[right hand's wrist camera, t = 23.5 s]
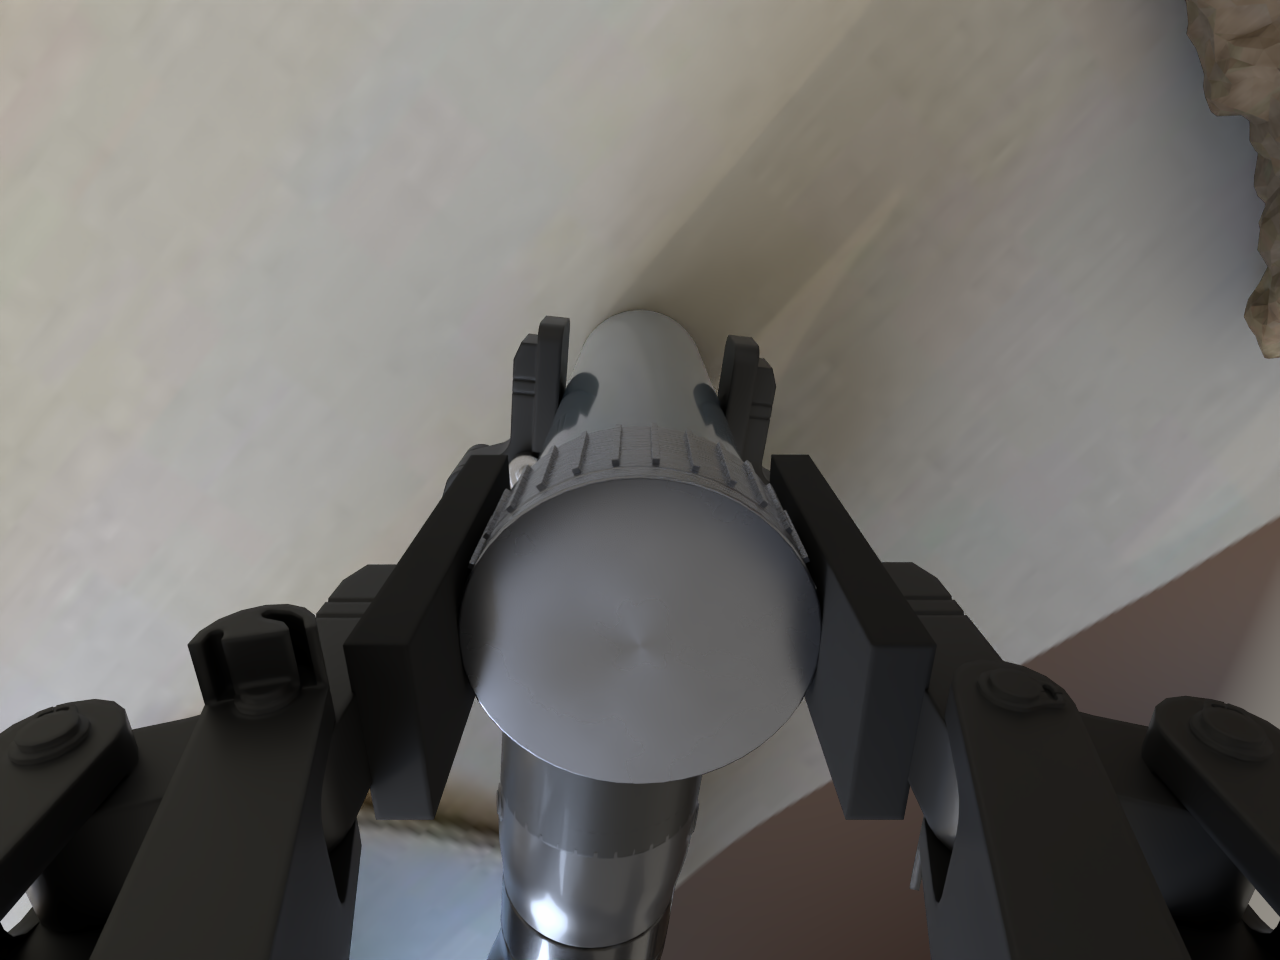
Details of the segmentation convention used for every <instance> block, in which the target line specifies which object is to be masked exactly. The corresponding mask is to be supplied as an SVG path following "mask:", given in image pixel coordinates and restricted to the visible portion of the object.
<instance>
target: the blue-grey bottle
mask: <svg viewBox="0 0 1280 960" xmlns="http://www.w3.org/2000/svg"><path fill="white" fill-rule="evenodd" d="M651 423H656V424H657V426H658V427H664V428H669V429H675V430H680V431H684V432H685V430H686V429H688V430H692V433H693V435H696V436H699V437H702V438H705V439H707V440H709V441H711V442H713V443H715V444H717V443H718V442H721V443H723V444H724V446H725V449H726V450H727V451H729V452H730V453H732V454H734V455H735V456H737V457H738V458H739V459H741V460H742V461H743V459H742V457H741V454H740V452H739V449H738V447H737V444H736V442H735V439H734V437H733V434H732V432H731V429H730V427H729V425H728V422H727V420H726V417H725V415H724V412H723V410H722V407H721V405H720V402H719V400H718V397H717V395H716V392H715V390H714V388H713V385H712V383H711V380H710V378H709V375H708V373H707V370H706V368H705V365H704V363H703V360H702V358H701V355H700V353H699V351H698V348H697V346H696V344H695V342H694V340H693V339H692V337H691V336H690V334H689V333H688V332H687V331H686V330H685V329H684V327H682V326H681V325H680V324H679V323H678V322H676V321H675V320H673V319H672V318H670V317H668V316H666V315H664V314H661V313H658V312H655V311H649V310H631V311H626V312H622V313H619V314H616V315H614V316H612V317H610V318H608V319H606V320H605V321H603V322H602V323H601V324H599V325H598V326H597V327H596V328H595V329H594V330H593V331H592V333H591V334H590V335H589V337H588V338H587V340H586V342H585V343H584V345H583V348H582V350H581V353H580V355H579V358H578V360H577V362H576V365H575V367H574V370H573V372H572V375H571V377H570V380H569V382H568V385H567V387H566V390H565V392H564V395H563V397H562V400H561V402H560V405H559V407H558V409H557V412H556V414H555V417H554V419H553V422H552V424H551V427H550V429H549V432H548V434H547V437H546V439H545V442H544V444H543V447H542V449H541V452H540V454H539V457H538V459H537V461H538V460H539V459H541V458H542V457H543V456H545V455H546V454H548V451H549V449H550V447H552V446H554V445H556V447H559V446H561V445H563V444H565V443H567V442H569V441H571V440H573V439H575V438H578V437H580V435H581V433H582V432H585V431H587V432H588V434H590V433H593V432H596V431H600V430H605V429H611V428H615V425H616V424H622V427H626V426H651ZM537 461H536V462H537Z"/></svg>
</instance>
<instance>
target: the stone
mask: <svg viewBox="0 0 1280 960" xmlns="http://www.w3.org/2000/svg"><path fill="white" fill-rule="evenodd" d="M1185 1H1186V4H1187V14H1188V28H1187V35H1188V37H1189V38H1190V40H1191V42H1192V43H1193V45H1194V46H1195V48H1196V49H1197V52H1198V56H1199V59H1200V62H1201V65H1202V68H1203V72H1204V84H1203V88H1204V93H1205V98H1206V100H1207V103H1208V105H1209V108H1210V110H1211V112H1212V113H1213V114H1215V115H1216V116H1234V115H1242V116H1243V117H1245V118H1246V119H1247V120H1249V121H1250V142H1251V144H1252V146H1253V147H1254V149H1255V151H1256V152H1258V158H1257V164H1256V170H1255V176H1254V187H1255V190H1256V192H1257V195H1258V197H1259V198H1260V199H1262V200H1263V201H1264V202H1265V208H1264V211H1263V213H1262V216H1261V218H1260V221H1259V226H1260V235H1259V242H1258V249H1257V250H1258V251H1259V253H1260V254H1261V256H1262V258H1263V259H1264V261H1265V263H1266V264H1267V266H1268V267H1267V269H1266V271H1265V273H1264V275H1263V277H1262V279H1261V281H1260V283H1259V284H1258V286H1257V287H1256V289H1255V290H1254V292H1253V293H1252V295H1251V296H1250V297H1249V299H1248V302H1247V306H1246V309H1245V314H1244V318H1245V320H1246V322H1247V324H1248V326H1249V328H1250V329H1251V330H1252V332H1253V333H1254V335H1255V336H1256V338H1257V341H1258V344H1259V347H1260V349H1261V351H1262V353H1263V355H1264V357H1265V358H1268V359H1270V358H1279V357H1280V0H1185Z"/></svg>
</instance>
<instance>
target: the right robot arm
mask: <svg viewBox="0 0 1280 960" xmlns="http://www.w3.org/2000/svg"><path fill="white" fill-rule="evenodd" d="M769 483H770V484H771V485H772V487H773V488H774V491H775V493H776V495H777V497H778V499H779V501H780V503H781V505H782V507H783V510H786V511H787V513H788V515H789V517H790V519H791V521H792V523H793V525H794V527H795V530H796V532H797V534H798V536H799V538H800V540H801V542H802V544H803V546H804V548H805V550H806V552H807V554H808V557H809V559H810V562H808V563H805V564H806V566H807V568H808V570H809V573H810V575H811V577H812V579H813V581H814V584H815V586H816V588H817V589H816V591H817V595H818V598H819V602H820V607H821V616H822V633H821V642H820V651H819V659H818V665H817V668H816V670H815V673H814V676H813V679H812V682H811V684H810V686H809V688H808V690H807V692H806V694H805V699H806V702H807V705H808V708H809V711H810V714H811V717H812V720H813V723H814V726H815V729H816V732H817V735H818V738H819V741H820V744H821V747H822V750H823V753H824V756H825V759H826V762H827V765H828V768H829V771H830V774H831V777H832V780H833V783H834V786H835V789H836V792H837V795H838V798H839V801H840V804H841V807H842V810H843V813H844V816H845V819H846V820H903V819H904V815H905V809H906V804H907V799H908V794H909V788H910V786H911V788H912V790H913V792H914V795H915V797H916V799H917V801H918V803H919V805H920V807H921V810H922V812H923V814H924V817H923V822H922V827H921V832H920V837H919V842H918V847H917V852H916V856H915V861H914V866H913V871H912V877H911V883H910V889H914V890H919V888H920V883H921V879H922V880H923V889H924V898H925V907H926V916H927V926H928V935H929V944H930V953H931V960H1280V921H1279V923H1278V925H1277V927H1276V928H1275V929H1274V930H1273V929H1271V928H1270V927H1269V926H1268V925H1267V924H1266V923H1265V922H1263V921H1262V920H1261V919H1260V918H1259V916H1258V915H1257V914H1256V913H1255V912H1254V910H1253V909H1252V908H1251V907H1250V906H1249V904H1248V903H1249V901H1250V899H1251V897H1252V895H1253V892H1254V890H1255V889H1256V890H1257V891H1258V892H1259V893H1260V894H1261V895H1262V897H1263V898H1264V899H1265V900H1266V901H1267V902H1268V904H1269V905H1270V906H1271V907H1272V908H1273V909H1274V911H1275V912H1276V913H1277V914H1278V915H1279V916H1280V730H1279V729H1278V728H1277V727H1275V726H1274V725H1272V724H1271V723H1269V722H1268V721H1266V720H1264V719H1262V718H1259V717H1257V716H1255V715H1253V714H1251V713H1249V712H1247V711H1246V710H1244V709H1242V708H1240V707H1237V706H1234V705H1231V704H1225V703H1224V702H1221V701H1217V700H1212V699H1205V698H1198V697H1190V696H1181V697H1172V698H1166V699H1165V700H1163V701H1162V702H1161V703H1159V704H1158V705H1157V706H1156V707H1155V710H1154V713H1153V715H1152V718H1151V721H1150V724H1149V727H1147V726H1142V725H1138V724H1133V723H1128V722H1123V721H1118V720H1113V719H1108V718H1103V717H1098V716H1094V715H1090V714H1086V713H1082V712H1079V711H1078V709H1077V707H1076V705H1075V703H1074V702H1073V700H1072V699H1071V698H1070V697H1069V695H1068V694H1067V693H1066V691H1065V690H1064V689H1063V688H1061V687H1060V686H1059V685H1057V684H1056V683H1055V682H1053V681H1052V680H1050V679H1049V678H1048V677H1046V676H1044V675H1042V674H1040V673H1038V672H1035V671H1033V670H1031V669H1029V668H1027V667H1024V666H1021V665H1017V664H1013V663H1009V662H1005V661H1003V660H1002V659H1001V658H1000V656H999V655H998V654H997V653H996V651H995V650H994V649H993V648H992V646H991V645H990V644H989V643H988V641H987V640H986V639H985V637H984V636H983V635H982V634H981V632H980V631H979V630H978V629H977V627H976V626H975V625H974V624H973V622H972V621H971V620H970V619H969V617H968V616H967V615H964V611H963V610H962V609H961V607H960V606H959V605H958V604H957V602H956V601H955V600H952V596H951V595H950V594H949V592H948V591H947V590H946V589H945V587H944V586H943V585H942V584H941V582H940V581H939V580H938V579H937V578H936V577H935V576H933V575H932V574H930V573H928V572H927V571H925V570H924V569H922V568H920V567H919V566H917V565H916V564H914V563H912V562H881V561H880V560H879V558H878V557H877V555H876V554H875V552H874V551H873V550H872V548H871V547H870V545H869V544H868V542H867V541H866V539H865V538H864V536H863V535H862V533H861V532H860V530H859V529H858V527H857V526H856V524H855V523H854V521H853V520H852V518H851V517H850V515H849V514H848V513H847V511H846V510H845V508H844V507H843V505H842V504H841V502H840V501H839V499H838V498H837V496H836V495H835V493H834V492H833V490H832V489H831V487H830V486H829V484H828V483H827V481H826V480H825V478H824V477H823V475H822V474H821V473H820V471H819V470H818V468H817V467H816V465H815V464H814V462H813V461H812V459H811V458H810V456H809V455H771V469H770V482H769ZM505 489H508V490H511V488H510V474H509V461H508V455H471V456H470V457H469V459H468V460H467V462H466V463H465V464H464V466H463V467H462V469H461V470H460V472H459V473H458V475H457V476H456V478H455V479H454V481H453V482H452V484H451V485H450V487H449V488H448V490H447V491H446V493H445V494H444V496H443V497H442V499H441V500H440V501H439V503H438V504H437V506H436V507H435V509H434V510H433V512H432V513H431V515H430V516H429V518H428V519H427V521H426V522H425V524H424V525H423V527H422V528H421V530H420V531H419V533H418V534H417V536H416V537H415V538H414V540H413V541H412V543H411V544H410V546H409V547H408V549H407V550H406V552H405V553H404V555H403V556H402V558H401V559H400V561H399V562H398V564H397V565H366V566H365V567H363V568H362V569H360V570H358V571H357V572H355V573H354V574H352V575H350V576H349V577H347V578H346V579H344V580H343V581H342V582H341V583H340V585H339V586H338V587H337V588H336V590H335V591H334V592H333V593H332V595H331V596H330V597H329V598H328V602H325V604H324V605H323V606H322V607H321V609H320V610H319V611H318V612H317V614H316V618H315V615H314V614H313V613H311V612H310V611H309V610H307V609H306V608H304V607H299V606H295V605H290V604H277V605H263V606H259V607H254V608H250V609H245V610H241V611H239V612H236V613H234V614H231V615H228V616H226V617H223V618H221V619H218V620H217V621H215V622H214V623H212V624H210V625H209V626H207V627H206V628H204V629H202V630H201V631H199V632H198V634H197V635H196V636H195V637H194V638H193V639H192V640H191V641H190V642H189V644H188V648H189V651H190V655H191V658H192V662H193V665H194V669H195V672H196V675H197V679H198V682H199V686H200V689H201V693H202V696H203V700H204V703H205V706H204V708H203V710H202V713H201V715H197V716H194V717H190V718H186V719H181V720H176V721H172V722H167V723H162V724H157V725H152V726H147V727H143V728H138V729H133V730H132V729H131V726H130V723H129V720H128V717H127V714H126V711H125V709H124V708H122V707H121V706H120V705H118V704H117V703H116V702H114V701H107V700H99V699H91V700H84V701H76V702H69V703H65V704H61V705H57V706H56V707H50V708H47V709H44V710H42V711H39V712H37V713H35V714H34V715H32V716H30V717H28V718H26V719H24V720H22V721H20V722H18V723H15V724H13V725H12V726H10V727H9V728H7V729H6V730H5V731H3V732H2V733H0V921H1V920H2V919H3V918H4V917H5V915H6V914H7V913H8V912H9V911H10V910H11V908H12V907H13V906H14V905H15V904H16V903H17V901H18V900H19V899H20V898H21V897H22V896H23V894H24V893H25V892H26V894H27V896H28V898H29V900H30V902H31V904H32V908H31V909H30V910H29V912H28V913H27V914H26V915H25V916H24V918H23V919H22V920H21V921H20V922H19V923H18V924H17V925H16V926H15V927H13V928H12V929H11V930H10V931H9V932H6V931H5V930H4V929H3V927H2V925H1V923H0V960H349V955H350V946H351V937H352V928H353V918H354V909H355V900H356V891H357V882H358V873H359V864H360V855H361V846H362V845H361V839H360V832H359V827H358V822H357V814H358V812H359V810H360V808H361V806H362V804H363V801H364V799H365V797H366V795H367V793H368V791H369V789H370V791H371V796H372V801H373V806H374V812H375V817H376V820H434V818H435V815H436V812H437V809H438V806H439V803H440V800H441V797H442V794H443V791H444V788H445V785H446V782H447V779H448V776H449V773H450V770H451V767H452V764H453V761H454V758H455V755H456V752H457V749H458V746H459V743H460V740H461V737H462V734H463V731H464V728H465V725H466V722H467V719H468V716H469V713H470V710H471V707H472V704H473V701H474V698H475V694H474V692H473V690H472V688H471V686H470V684H469V682H468V679H467V676H466V674H465V671H464V668H463V665H462V661H461V654H460V646H459V637H458V615H459V607H460V601H461V598H462V594H463V591H464V587H465V584H466V581H467V579H468V577H469V575H470V573H471V569H468V568H467V566H468V564H469V561H470V559H471V557H472V555H473V553H474V551H475V549H476V547H477V545H478V543H479V540H480V538H481V536H482V534H483V532H484V530H485V528H486V526H487V524H488V522H489V520H490V518H491V516H492V515H493V513H494V511H495V509H496V507H497V505H498V503H499V500H500V498H501V496H502V494H503V492H504V491H505Z"/></svg>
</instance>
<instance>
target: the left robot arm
mask: <svg viewBox="0 0 1280 960" xmlns="http://www.w3.org/2000/svg"><path fill="white" fill-rule="evenodd" d="M569 332H570V319H569V318H563V317H553V316H546V317H545V318H544V319H543V320H542V321H541V323H540V326H539V332H538V335H536V334H528V335H527V337H526V338H525V339H524V340H523V341H522V342H521V344H520V347H519V349H518V351H517V353H516V355H515V357H514V364H513V390H512V391H513V394H512V415H511V438H510V439H509V440H508V441H506V442H503V443H500V444H495V445H491V446H489V445H485V444H478V445H474V446H472V447H471V448H470V449H469V450H468V451H467V452H466V454H465V455H464V457H463V458H462V459H461V461H460V462H459V464H458V465H457V467H456V468H455V469H454V471H453V472H452V474H451V475H450V477H449V478H448V480H447V482H446V486H445V489H444V493H443V496H444V494H445V493H446V491H447V490H448V488H449V487H450V485H451V484H452V482H453V481H454V479H455V478H456V476H457V475H458V473H459V472H460V470H461V469H462V467H463V466H464V464H465V463H466V462H467V460H468V459H469V457H470V456H471V455H508V461H509V474H510V488H511V489H512V487H513V486H514V484H515V483H516V482H517V481H518V480H519V477H520V475H521V473H522V471H523V468H524V467H525V466H526V465H529V466H530V467H531V466H532V465H534V464H535V463H536V461H537V459H538V457H539V454H540V452H541V449H542V447H543V444H544V442H545V439H546V437H547V434H548V432H549V429H550V427H551V424H552V422H553V419H554V417H555V414H556V412H557V409H558V407H559V405H560V402H561V400H562V397H563V395H564V392H565V390H566V376H567V362H568V347H569ZM775 390H776V383H775V379H774V374H773V369H772V368H771V366H770V365H769V364H768V363H767V361H766V360H765V359H764V358H759V346H758V344H757V343H756V342H755V341H754V340H753V338H751V337H743V336H734V335H728V337H727V341H726V345H725V352H724V358H723V364H722V371H721V377H720V384H719V390H718V400H719V402H720V405H721V407H722V410H723V412H724V415H725V417H726V420H727V422H728V425H729V427H730V429H731V432H732V434H733V437H734V439H735V442H736V444H737V447H738V449H739V452H740V454H741V457H742V459H743V462H745V461H746V460H748V461H749V462H750V463H751V464H752V466H753V469H754V471H755V473H756V474H757V475H758V476H759V478H760V479H761V480H762V481H763V482H764V483H765V485H768V484H769V482H770V471H769V470H767V469H765V468H764V467H762V459H763V454H764V449H765V443H766V438H767V433H768V427H769V422H770V417H771V411H772V404H773V400H774V395H775ZM443 496H442V497H443ZM701 778H702V775H699V776H695V777H691V778H687V779H683V780H677V781H670V782H664V783H649V784H631V783H616V782H609V781H603V780H596V779H593V778H589V777H585V776H581V775H577V774H574V773H571V772H569V771H566V770H564V769H561V768H558V767H556V766H554V765H552V764H550V763H548V762H546V761H544V760H542V759H540V758H538V757H536V756H535V755H533V754H532V753H530V752H528V751H527V750H525V749H524V748H522V747H521V746H519V745H518V744H517V743H516V742H515V741H513V740H512V739H511V738H510V737H509V736H507V735H506V734H505V733H504V732H503V733H502V758H501V778H500V783H499V787H498V790H497V813H498V814H499V840H500V848H501V854H502V860H503V886H502V907H501V928H500V931H499V933H498V936H497V938H496V940H495V942H494V944H493V946H492V948H491V951H490V953H489V955H488V957H487V960H660V959H661V956H662V952H663V948H664V944H665V939H666V934H667V929H668V923H669V917H670V912H671V907H672V901H673V895H674V890H675V885H676V881H677V879H678V877H679V874H680V872H681V869H682V866H683V863H684V860H685V857H686V854H687V851H688V847H689V842H690V837H691V834H692V832H694V829H695V824H696V819H697V814H698V809H699V803H698V794H699V789H700V783H701Z"/></svg>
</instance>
